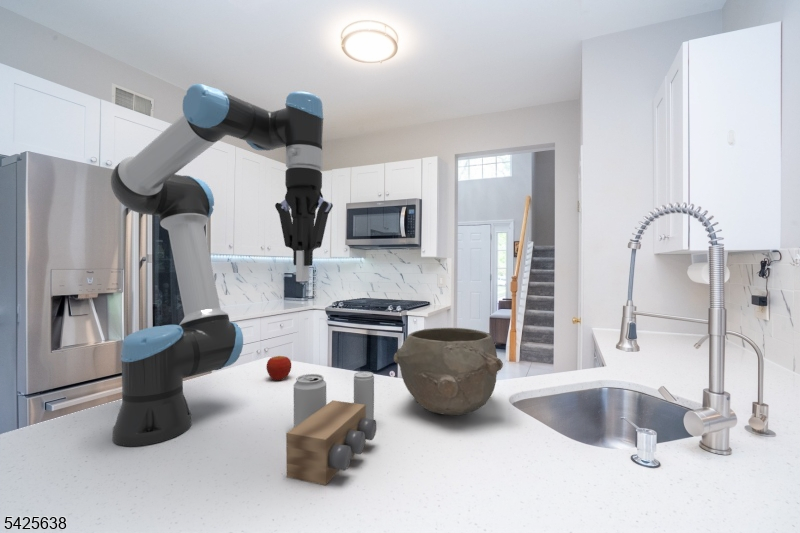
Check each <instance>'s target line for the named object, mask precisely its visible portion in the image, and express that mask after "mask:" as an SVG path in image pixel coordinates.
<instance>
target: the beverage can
mask: <svg viewBox="0 0 800 533" xmlns="http://www.w3.org/2000/svg"><path fill="white" fill-rule="evenodd" d="M353 403H356V404H364V405H366V418H367V419H374V420H375V418H374V417H375V376H374V372H371V371H358V372H355V373H354V376H353Z"/></svg>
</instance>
